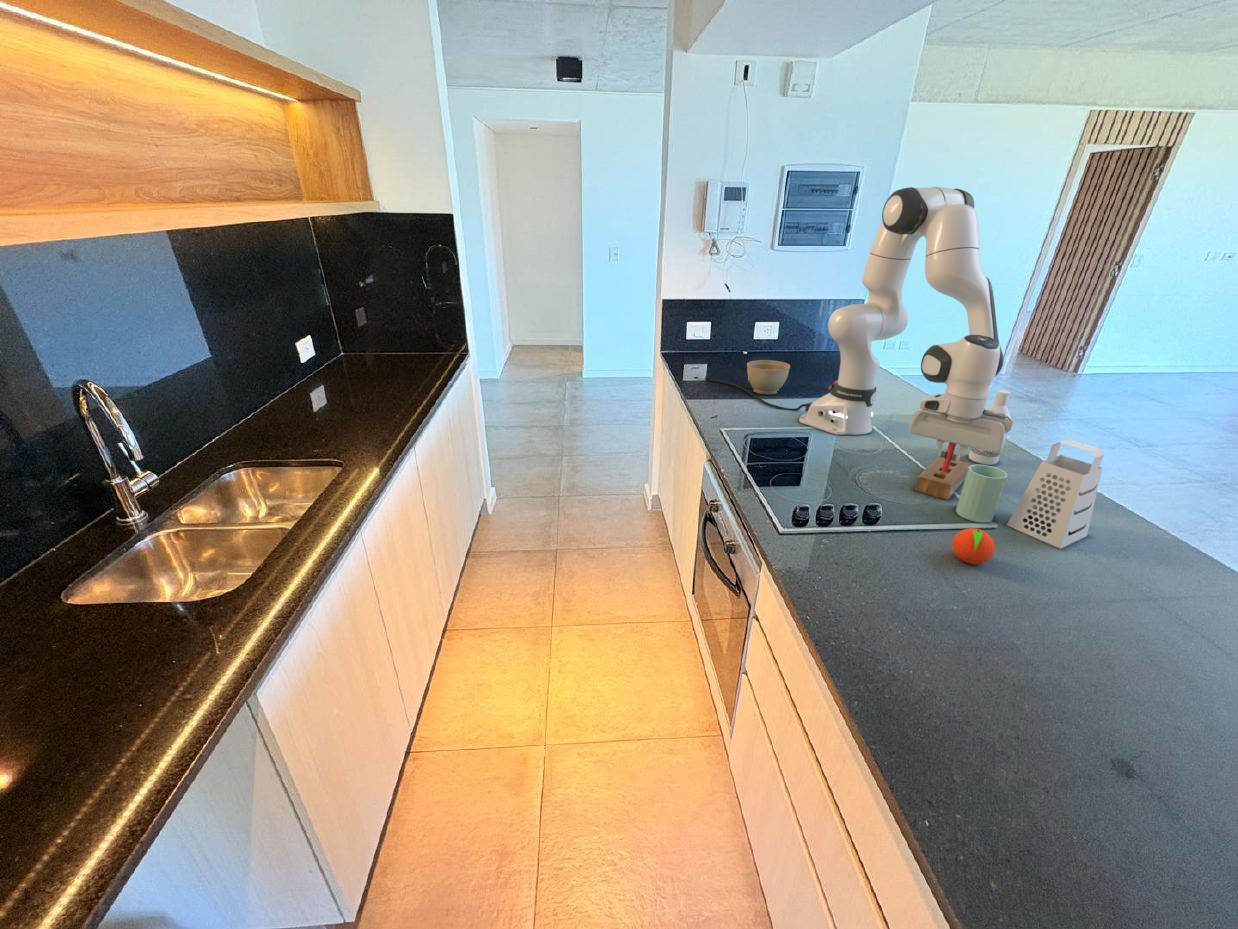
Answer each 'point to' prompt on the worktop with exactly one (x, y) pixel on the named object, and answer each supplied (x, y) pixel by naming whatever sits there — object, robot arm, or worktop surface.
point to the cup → (981, 493)
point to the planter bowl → (767, 375)
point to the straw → (948, 457)
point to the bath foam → (998, 407)
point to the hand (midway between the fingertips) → (948, 458)
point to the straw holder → (942, 478)
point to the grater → (1060, 496)
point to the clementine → (973, 546)
